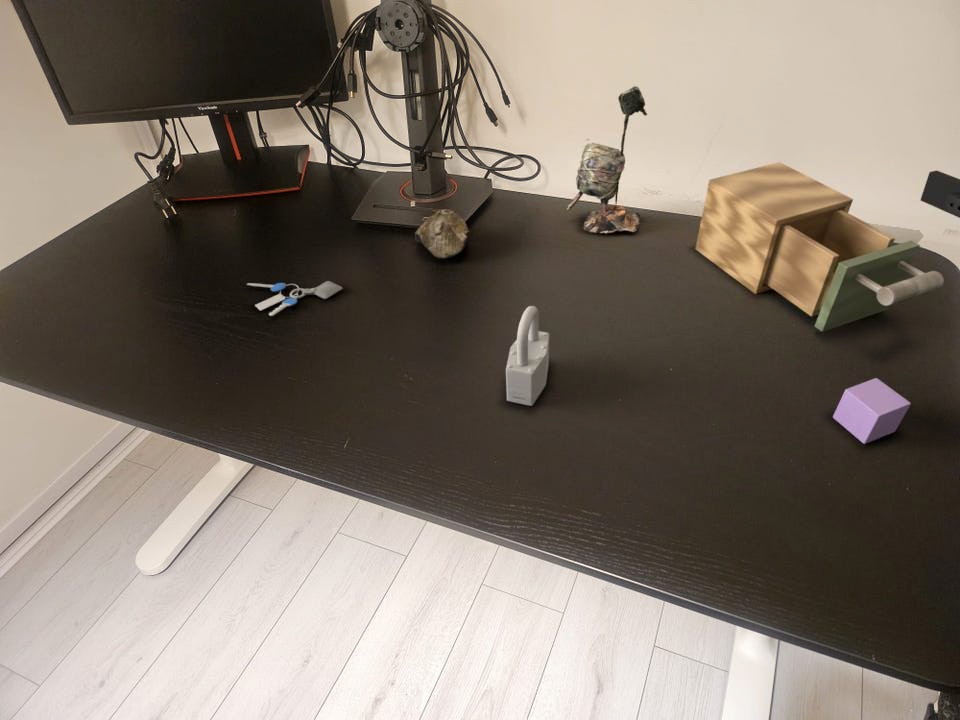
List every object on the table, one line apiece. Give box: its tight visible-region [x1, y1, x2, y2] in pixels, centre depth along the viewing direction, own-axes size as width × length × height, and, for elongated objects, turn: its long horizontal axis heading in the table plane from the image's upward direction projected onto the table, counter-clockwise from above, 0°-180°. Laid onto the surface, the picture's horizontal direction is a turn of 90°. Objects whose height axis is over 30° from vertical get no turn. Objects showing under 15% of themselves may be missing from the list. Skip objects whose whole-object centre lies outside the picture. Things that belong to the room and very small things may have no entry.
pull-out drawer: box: [764, 209, 945, 333], centre depth 72 cm, size 16×10×9 cm, turn 22°
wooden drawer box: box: [694, 161, 854, 295], centre depth 82 cm, size 13×12×11 cm
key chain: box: [246, 280, 343, 317], centre depth 83 cm, size 14×8×1 cm, turn 88°
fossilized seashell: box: [414, 209, 471, 260], centre depth 91 cm, size 8×7×10 cm
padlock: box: [505, 305, 550, 406], centre depth 66 cm, size 7×4×10 cm, turn 161°
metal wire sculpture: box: [567, 85, 648, 234], centre depth 89 cm, size 8×11×20 cm
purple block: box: [832, 377, 912, 445], centre depth 60 cm, size 4×4×4 cm
